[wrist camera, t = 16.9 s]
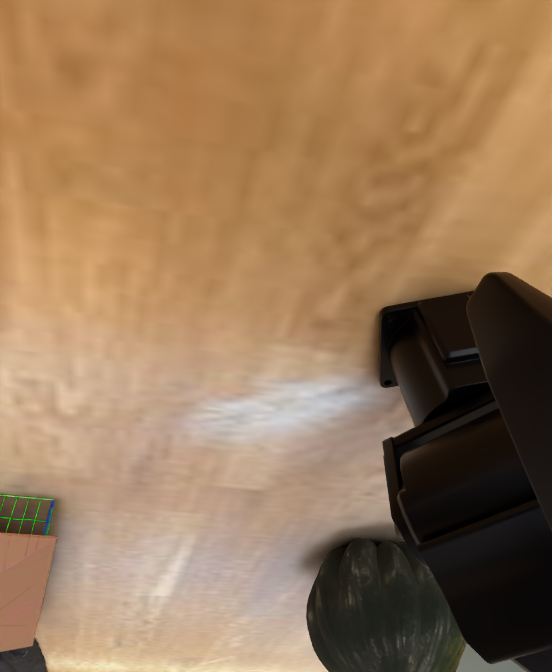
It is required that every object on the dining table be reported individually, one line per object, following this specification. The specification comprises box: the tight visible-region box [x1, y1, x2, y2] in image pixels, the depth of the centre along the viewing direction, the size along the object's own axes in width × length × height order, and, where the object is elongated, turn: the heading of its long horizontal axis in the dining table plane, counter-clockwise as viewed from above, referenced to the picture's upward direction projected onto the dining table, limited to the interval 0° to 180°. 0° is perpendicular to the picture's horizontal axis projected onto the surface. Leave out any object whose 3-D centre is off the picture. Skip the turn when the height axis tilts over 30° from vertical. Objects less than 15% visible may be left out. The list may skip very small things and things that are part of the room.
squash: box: [306, 539, 467, 672], centre depth 44 cm, size 14×15×15 cm
